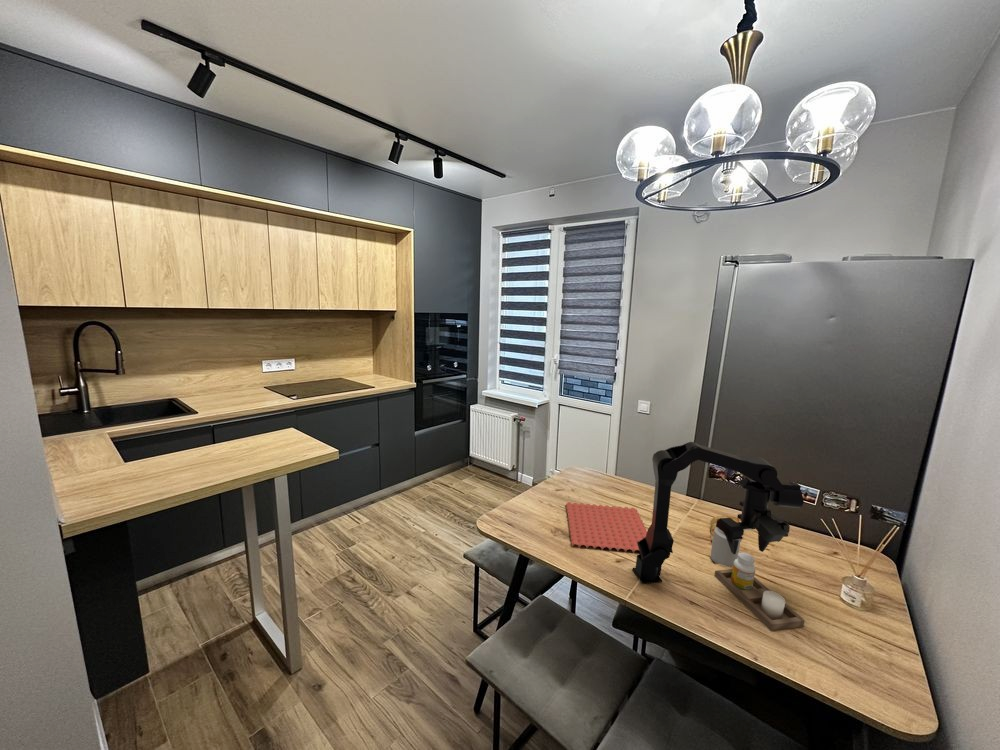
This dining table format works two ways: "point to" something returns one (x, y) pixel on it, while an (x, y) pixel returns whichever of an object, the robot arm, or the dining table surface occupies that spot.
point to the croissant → (714, 521)
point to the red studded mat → (605, 526)
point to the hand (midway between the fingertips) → (747, 552)
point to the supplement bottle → (743, 572)
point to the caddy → (759, 603)
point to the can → (722, 549)
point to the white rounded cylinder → (772, 605)
